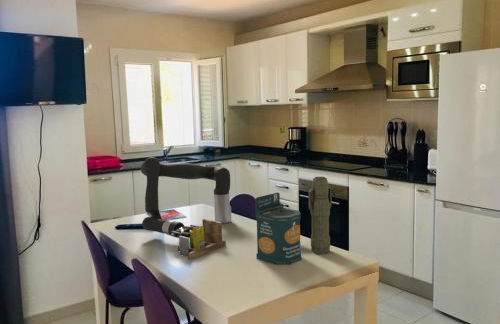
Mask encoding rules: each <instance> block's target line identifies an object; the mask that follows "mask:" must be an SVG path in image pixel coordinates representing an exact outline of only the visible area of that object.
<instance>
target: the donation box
mask: <svg viewBox="0 0 500 324" xmlns="http://www.w3.org/2000/svg"><path fill="white" fill-rule="evenodd" d="M280 195H281V194H280V193H279V192H275V193H270V194H266V195H265V194H264V195H261V196H257V197H256V198H255V199H254V200H255V201H254V202H255V204H254V205H255V220H256V241H257V243H256V244H257V247H256V249H257V253H256V259H257V260H260V261H264V262H266V263H269V264H271V265H272V264H273V265H275V266H283V265H284V266H287V265H289V266H290V265H293V264H295V263H298V262H300V261H302V253H301V219H302V218H301V217H302V214H301V212H300V210H297V209H293V208H287V207H284V203H282V202H281V201H280V200H281V199H280V197H281V196H280Z"/></svg>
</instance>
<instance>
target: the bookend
mask: <svg viewBox="0 0 500 324" xmlns="http://www.w3.org/2000/svg"><path fill="white" fill-rule="evenodd" d="M178 246H179V249H180V252H179V255H180V256H182V255H183V256H184V257H186V256H187V258H188V253H189V247H190V238H187V237H183V236H179V238H178Z"/></svg>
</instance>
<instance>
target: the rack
mask: <svg viewBox="0 0 500 324" xmlns="http://www.w3.org/2000/svg"><path fill="white" fill-rule="evenodd" d="M222 225H223V223H222V222H217V221H215V220H211V219H206V218H203V219H202V226H203V228H204V244H205V247H203V248H200V249H194V248H190V246H189V253H188V257H187V260H189V261H192V260H194V259H197V258H199V257H202V256H204V255H207V254H210V253H212V252H215V251H217V250H220V249H222V248H225V247H226V246H227V242H226V239H223V228H222V227H223V226H222ZM176 247H177V252H178V251H180V249H179V245H177V246H176Z"/></svg>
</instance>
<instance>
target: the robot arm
mask: <svg viewBox="0 0 500 324" xmlns="http://www.w3.org/2000/svg"><path fill="white" fill-rule="evenodd" d="M140 172H141V174H143V175H144V176H146V188H145V193H144V194H145V195H144V203H145V204H144V209H145V212H146V214H147V213H149V214H150V215H151V217H150V216H147V217H145V218H144V219H143V220H142V223H141V224H142V225H141V226H142V228H143V230H145V231H149V232H157V233H161V234H164V235H166V236H171V237H173V238H176V239H179V236H183V237H187V238H189V239H190V233H189V232H190V231H193V229H194V228H196V227H200V226H199V225H194V224H190V225H185V224H184V223H183V222H181V221H176V220H164V219H162V218H161V215H160V212H159V211H160V209H159V204H160V203H159V179H160V178H159V177H163V178H164V177H165V178H174V179H182V180H184V179H185V180H199V179H205V180H210V181H215V188H214V189H213V207H214V221H217V222H222V224H227V223H228V224H229V223H231V222H232V206H231V205H230V190H231V174H230V170H229V169H228V168H227V167H224V166H207V165H200V164H197V163H196V164H195V163H189V162H174V163H160V161H159V159H158V158H157V157H154V156H151V157H148V158H146V159H145V160H144V161H143V162H142V163H141V166H140ZM197 229H199V228H197Z"/></svg>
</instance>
